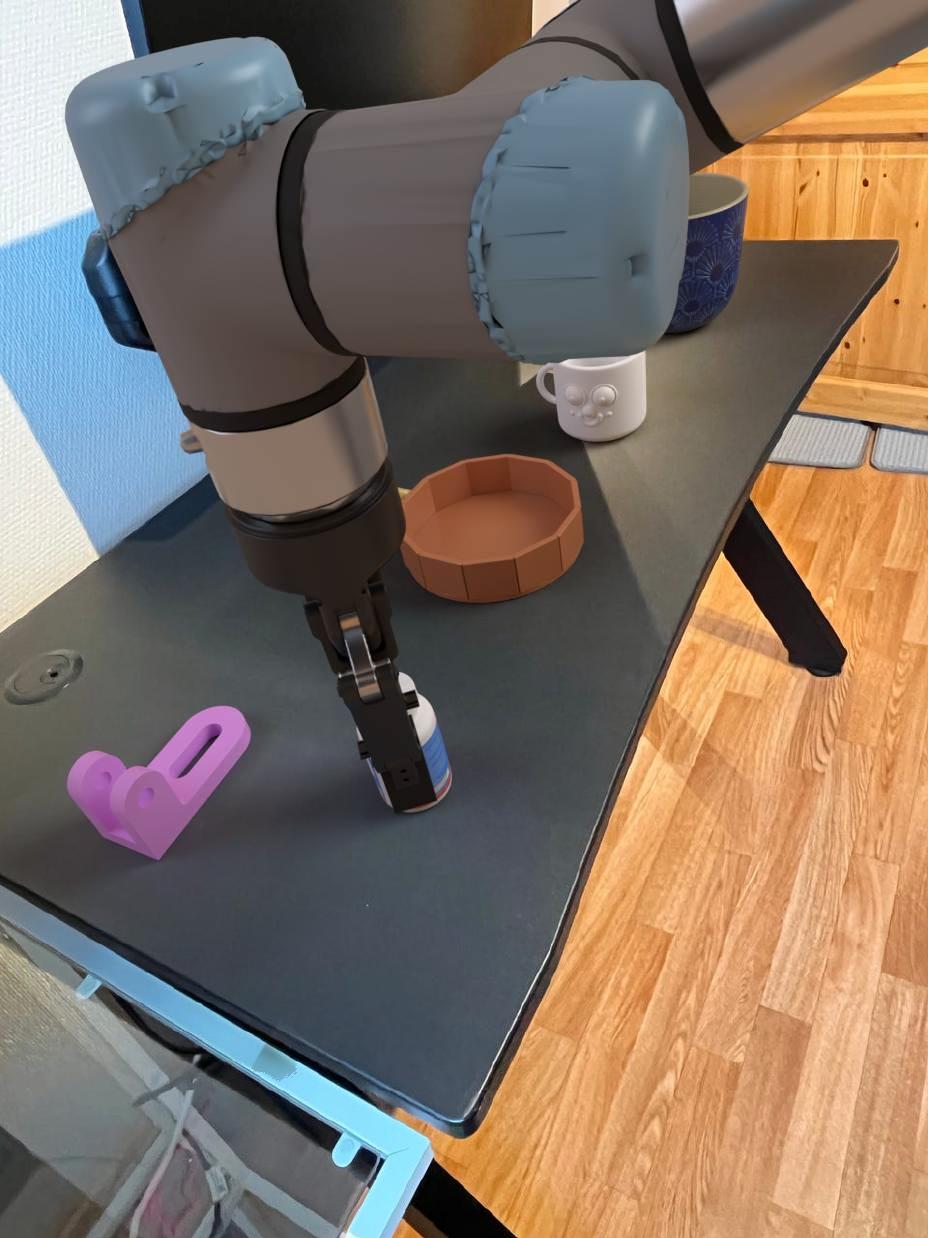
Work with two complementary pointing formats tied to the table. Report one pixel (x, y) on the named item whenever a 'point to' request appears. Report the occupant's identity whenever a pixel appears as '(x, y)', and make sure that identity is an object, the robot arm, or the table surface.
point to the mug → (598, 395)
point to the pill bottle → (423, 747)
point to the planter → (710, 249)
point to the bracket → (159, 782)
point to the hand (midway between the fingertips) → (413, 797)
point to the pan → (492, 528)
